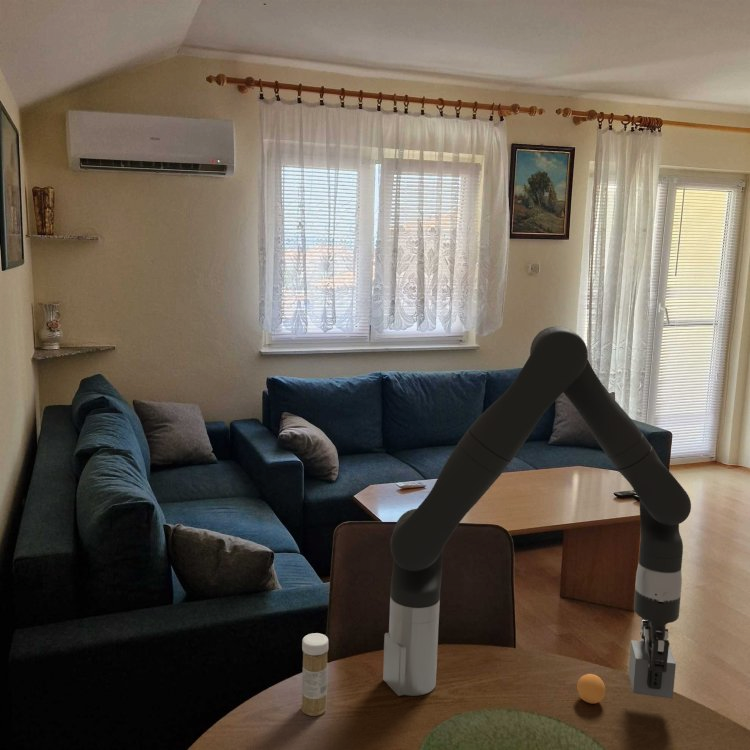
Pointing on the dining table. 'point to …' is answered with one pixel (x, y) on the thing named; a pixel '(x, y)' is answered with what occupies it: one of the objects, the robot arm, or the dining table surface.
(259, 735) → the dining table surface
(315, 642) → the sprinkles bottle
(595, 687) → the ball
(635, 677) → the matte gray cube
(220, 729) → the dining table surface
